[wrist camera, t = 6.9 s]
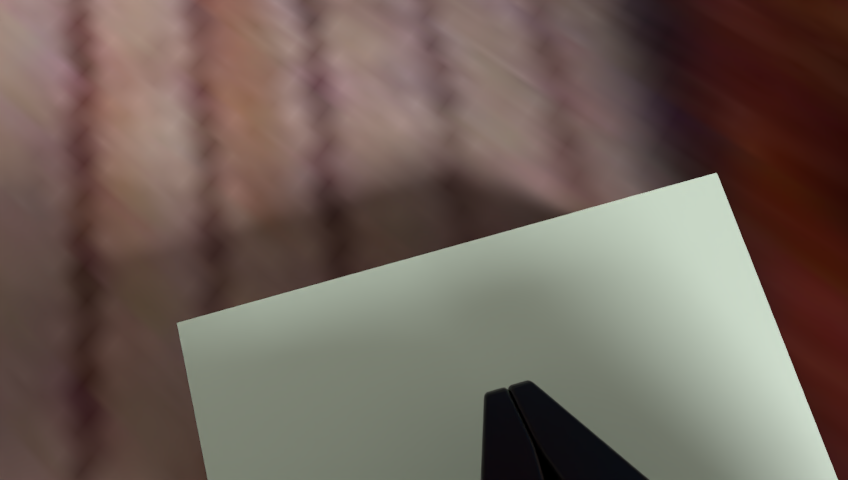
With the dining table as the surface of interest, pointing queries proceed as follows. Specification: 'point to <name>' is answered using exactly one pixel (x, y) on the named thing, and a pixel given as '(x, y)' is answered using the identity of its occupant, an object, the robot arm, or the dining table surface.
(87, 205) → the dining table surface
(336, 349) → the lid
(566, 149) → the dining table surface
